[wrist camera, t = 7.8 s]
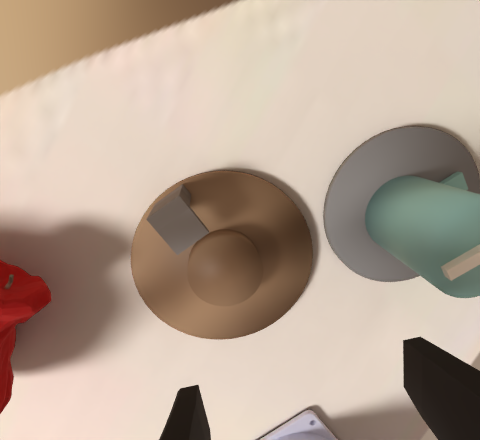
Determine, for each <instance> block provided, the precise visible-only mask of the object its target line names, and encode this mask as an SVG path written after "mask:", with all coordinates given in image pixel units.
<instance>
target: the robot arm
mask: <svg viewBox="0 0 480 440" xmlns="http://www.w3.org/2000/svg"><path fill="white" fill-rule="evenodd" d="M403 354H404V388H405V389H406V391H407V393H408V395H409V396H410V398H411V400H412V402H413V403H414V405H415V407H416V408H417V410H418V412H419V413H420V415H421V417H422V418H423V419H424V421H425V422H426V424H427V425H428V426H429V428H430V429H431V430H432V432H433V433H434V434H435V436H436V437H437V439H438V440H480V371H479V370H477V369H475V368H474V367H472V366H470V365H468V364H467V363H465V362H463V361H461V360H460V359H458V358H456V357H455V356H453V355H451V354H449V353H448V352H446V351H444V350H442V349H441V348H439V347H437V346H436V345H434V344H432V343H430V342H429V341H427V340H425V339H423V338H421V337H417V338H412V339H408V340H403ZM159 440H211V437H210V428H209V424H208V420H207V416H206V413H205V409H204V405H203V401H202V397H201V394H200V390H199V386H198V385H195V386H190V387H186V388H181V389H180V390H179V391H178V393H177V396H176V399H175V402H174V404H173V407H172V410H171V413H170V415H169V418H168V420H167V423H166V425H165V428H164V430H163V432H162V435H161V437H160V439H159ZM259 440H338V439H337V438H336V437H335V436H334V435H333V434H332V432H331V431H330V430H329V429H328V428H327V427H326V426H325V424H324V423H323V422H322V421H321V420H320V419H319V417H318V416H317V415H316V414H315V413H314V412H313V411H312V410H306V411H304V412H303V413H301V414H299V415H298V416H296V417H295V418H293V419H291V420H290V421H288V422H287V423H285V424H283V425H282V426H280V427H279V428H277V429H275V430H274V431H272V432H271V433H269V434H267V435H266V436H264V437H263V438H261V439H259Z"/></svg>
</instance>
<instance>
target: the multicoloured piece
mask: <svg viewBox="0 0 480 440" xmlns="http://www.w3.org/2000/svg"><path fill="white" fill-rule="evenodd" d="M50 302H51V292H50V290H49V288H48V286H47V285H46V283H45V282H44V281H43V280H42V279H41V278H40V277H39V276H31V275H29V274H28V273H26V272H25V271H24V270H22V269H21V268H19V267H17V266H14V265H10V264H7V263H5V262H3V261H1V260H0V414H1V412H2V411H3V409H4V408H5V406H6V405H7V404H8V402H9V401H10V398H11V395H12V384H13V378H14V376H13V372H12V367H11V362H10V359H11V355H12V352H13V350H14V347H15V341H16V329H15V326H16V324H19V323H24V322H26V321H27V320H28V319H29V318H31V317H32V316H33V315H34V314H36V313H37V312H39V311H40V310H41V309H42V308H44V307H45V306H46V305H47V304H48V303H50Z"/></svg>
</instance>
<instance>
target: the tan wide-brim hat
mask: <svg viewBox="0 0 480 440" xmlns="http://www.w3.org/2000/svg"><path fill="white" fill-rule="evenodd" d="M312 257H313V249H312V240H311V236H310V231H309V228H308V226H307V223H306V221H305V219H304V217H303V215H302V214H301V212H300V210H299V209H298V208H297V206H296V205H295V204H294V202H293V201H292V200H291V199H290V198H289V197H288V196H287V195H285V194H284V193H283V192H282V191H281V190H280V189H278V188H277V187H276V186H274V185H273V184H271V183H269V182H267V181H265V180H264V179H262V178H259V177H256V176H253V175H251V174H246V173H242V172H235V171H212V172H206V173H201V174H198V175H194V176H191V177H188V178H186V179H184V180H182V181H180V182H178V183H176V184H175V185H173V186H171V187H170V188H168V189H167V190H166V191H165V192H163V193H162V194H161V195H160V196H159V197H158V198H157V199H156V200H155V201H154V202H153V203H152V204H151V205H150V207H149V208H148V210H147V211H146V213H145V214H144V216H143V217H142V219H141V221H140V223H139V225H138V227H137V229H136V232H135V235H134V239H133V243H132V249H131V268H132V275H133V278H134V282H135V285H136V287H137V289H138V292H139V294H140V296H141V297H142V299H143V300H144V302H145V304H146V305H147V306H148V307H149V308H150V310H151V311H152V312H153V313H154V314H155V315H156V316H157V317H158V318H160V319H161V320H162V321H163V322H165V323H166V324H168V325H169V326H171V327H173V328H175V329H177V330H178V331H181V332H183V333H186V334H188V335H192V336H196V337H200V338H206V339H232V338H238V337H243V336H246V335H249V334H252V333H255V332H257V331H260V330H262V329H264V328H266V327H268V326H269V325H271V324H273V323H274V322H276V321H277V320H278V319H280V318H281V317H282V316H283V315H284V314H285V313H286V312H287V311H289V310H290V308H291V307H292V306H293V305H294V304H295V302H296V301H297V300H298V298H299V297H300V295H301V294H302V292H303V290H304V288H305V286H306V284H307V281H308V278H309V275H310V271H311V266H312Z"/></svg>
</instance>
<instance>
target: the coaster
mask: <svg viewBox="0 0 480 440" xmlns="http://www.w3.org/2000/svg"><path fill="white" fill-rule="evenodd" d="M457 171H458V172H462V173H463V176H464V178H465V181H466V184H467V187H468V190H466V191H470V192H473V193H477V194H480V179H479V173H478V170H477V167H476V164H475V162H474V160H473V158H472V156H471V154H470V153H469V152H468V150H467V149H466V148H465V146H464V145H462V144H461V143H460V142H459V141H458V140H457V139H455V138H454V137H452V136H451V135H449V134H447V133H445V132H443V131H440V130H437V129H433V128H427V127H401V128H395V129H391V130H388V131H385V132H382V133H380V134H378V135H376V136H373V137H372V138H370V139H369V140H367V141H365V142H364V143H362V144H361V145H360V146H359V147H357V148H356V149H355V150H354V151H353V152H352V153H351V154H350V155H349V156H348V157H347V158H346V159H345V160H344V162H343V163H342V164H341V166H340V167H339V168H338V170H337V172H336V173H335V175H334V177H333V179H332V181H331V183H330V185H329V188H328V191H327V195H326V199H325V204H324V215H323V217H324V228H325V232H326V236H327V239H328V241H329V244H330V246H331V248H332V249H333V251H334V253H335V254H336V255H337V256H338V258H339V259H340V260H341V261H342V262H343V263H344V264H345V265H346V266H347V267H348V268H349V269H351V270H352V271H354V272H355V273H357V274H359V275H361V276H363V277H365V278H368V279H371V280H376V281H381V282H396V281H403V280H409V279H412V278H415V277H418V276H420V275H419V274H417V273H416V272H415V271H413V270H412V269H411V268H409V267H408V266H407V265H405V264H404V263H403V262H401V261H400V260H398V259H397V258H396V257H394V256H393V255H392V254H390V253H389V252H388V251H386V250H385V249H384V248H382V247H381V246H379V245H378V244H377V243H376V242H374V241H373V240H372V238H371V237H370V236H369V234H368V232H367V229H366V225H365V214H366V209H367V206H368V203H369V201H370V199H371V198H372V196H373V195H374V193H375V192H376V191H377V190H378V189H379V188H380V187H381V186H382V185H383V184H385V183H386V182H388V181H390V180H391V179H394V178H396V177H400V176H407V175H408V176H417V177H420V178H424V179H428V180H431V181H435V182H438V183H439V182H441V181H442V180H444V179H446V178H447V177H449V176H451V175H452V174H454V173H456V172H457Z"/></svg>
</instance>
